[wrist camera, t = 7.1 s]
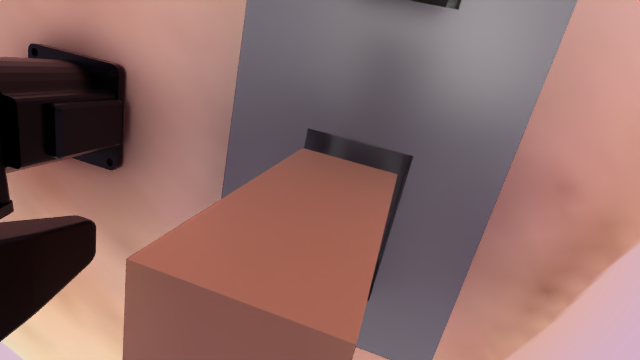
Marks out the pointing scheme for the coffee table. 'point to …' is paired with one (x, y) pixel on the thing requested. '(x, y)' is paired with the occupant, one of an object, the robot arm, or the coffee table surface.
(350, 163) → the terracotta plug
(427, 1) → the pale pink plug
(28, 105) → the robot arm
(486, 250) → the coffee table surface
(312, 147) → the header
